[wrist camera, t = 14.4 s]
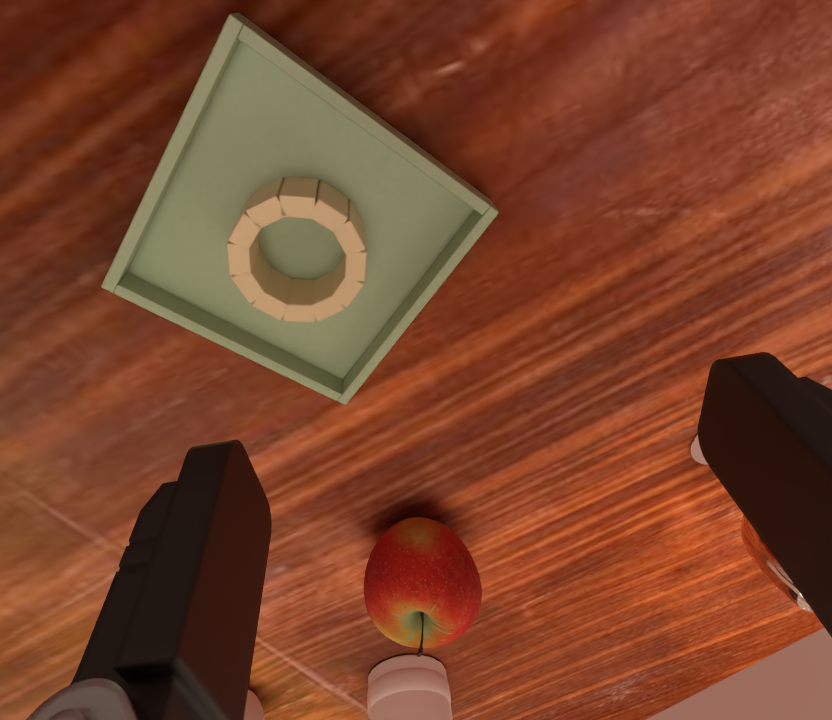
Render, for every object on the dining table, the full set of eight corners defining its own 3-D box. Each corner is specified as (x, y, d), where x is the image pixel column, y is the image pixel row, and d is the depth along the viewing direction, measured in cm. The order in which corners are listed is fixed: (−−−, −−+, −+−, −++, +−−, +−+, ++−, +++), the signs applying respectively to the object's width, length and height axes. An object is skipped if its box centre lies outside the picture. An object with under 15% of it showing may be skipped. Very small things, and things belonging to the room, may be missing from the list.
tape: (216, 255, 29) (204, 281, 26) (276, 149, 26) (268, 166, 24) (324, 314, 31) (322, 343, 29) (388, 223, 29) (392, 246, 26)
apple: (423, 574, 46) (439, 702, 38) (342, 541, 43) (340, 673, 35) (488, 518, 43) (521, 644, 35) (406, 478, 40) (421, 607, 31)
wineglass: (775, 420, 40) (915, 562, 30) (727, 475, 43) (840, 622, 33) (711, 404, 39) (836, 548, 29) (666, 463, 41) (765, 612, 32)
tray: (114, 270, 29) (100, 287, 27) (237, 11, 23) (229, 13, 22) (345, 386, 35) (345, 405, 33) (491, 199, 29) (499, 212, 27)
